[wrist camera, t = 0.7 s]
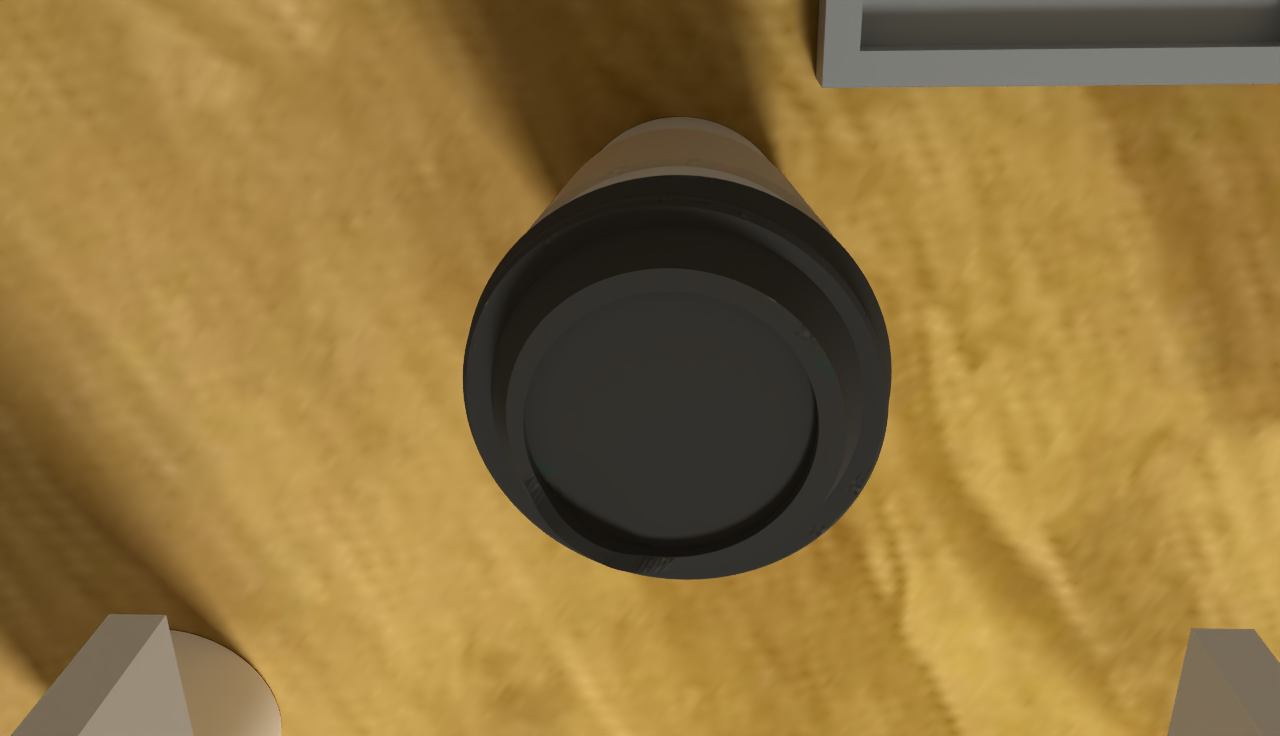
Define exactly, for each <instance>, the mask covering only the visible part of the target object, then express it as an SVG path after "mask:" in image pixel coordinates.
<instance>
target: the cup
mask: <svg viewBox="0 0 1280 736" xmlns="http://www.w3.org/2000/svg"><path fill="white" fill-rule="evenodd" d="M170 634H171V638H172V643H173V647H174V652H175V656H176V660H177V665H178V669H179V673H180V678H181V682H182V687H183V691H184V695H185V700H186V704H187V708H188V713H189V717H190V722H191V726H192V730H193V735H194V736H281V732H282V725H281V716H280V711H279V708H278V705H277V702H276V700H275V698H274V696H273V694H272V692H271V690H270V688H269V687H268V685H267V684H266V682H265V681H264V680H263V678H262V677H261V676H260V675H259V674H258V673H257V672H256V671H255V670H254V669H253V668H252V667H251V666H250V665H249V664H248V663H247V662H246V661H245V660H243V659H242V658H241V657H239V656H238V655H237V654H235V653H234V652H232V651H230V650H229V649H227V648H226V647H224V646H222V645H220V644H218V643H216V642H213V641H211V640H209V639H206V638H203V637H200V636H197V635H194V634H190V633H186V632H180V631H174V630H170Z"/></svg>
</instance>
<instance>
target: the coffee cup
mask: <svg viewBox="0 0 1280 736" xmlns="http://www.w3.org/2000/svg"><path fill="white" fill-rule="evenodd" d="M890 389H891V353H890V345H889V339H888V334H887V329H886V325H885V322H884V318H883V315H882V312H881V309H880V307H879V304H878V302H877V299H876V297H875V295H874V293H873V291H872V289H871V287H870V285H869V283H868V281H867V279H866V278H865V276H864V274H863V273H862V271H861V270H860V268H859V267H858V265H857V264H856V262H855V261H854V260H853V258H852V257H851V256H850V255H849V253H848V252H847V251H846V250H845V249H844V248H843V246H842V245H841V244H840V243H839V242H838V241H837V240H836V239H835V238H834V237H833V235H832V234H831V233H830V231H829V230H828V229H827V227H826V226H825V225H824V224H823V222H822V221H821V220H820V219H819V217H818V216H817V215H816V214H815V213H814V211H813V210H812V209H811V208H810V206H809V205H808V204H807V203H806V202H805V200H804V199H803V198H802V197H801V195H800V194H799V193H798V192H797V191H796V189H795V188H794V187H793V186H792V184H791V183H790V182H789V181H788V179H787V178H786V177H785V176H784V175H783V174H782V173H781V172H780V171H779V170H778V169H777V168H776V167H775V166H774V165H773V164H772V163H771V162H769V160H768V159H767V158H766V157H765V156H764V154H763V153H762V152H761V151H760V150H759V149H758V148H757V147H756V146H755V145H753V144H752V143H751V142H750V141H749V140H747V139H746V138H745V137H743V136H742V135H740V134H739V133H737V132H735V131H733V130H731V129H730V128H727V127H725V126H723V125H720V124H718V123H715V122H712V121H708V120H704V119H698V118H691V117H669V118H661V119H656V120H652V121H648V122H645V123H642V124H640V125H637V126H635V127H633V128H631V129H629V130H627V131H625V132H623V133H622V134H620V135H619V136H617V137H616V138H615V139H613V140H612V141H611V142H610V143H608V144H607V145H606V146H605V147H604V148H603V149H602V150H601V151H600V152H599V153H597V154H596V155H595V156H593V157H592V158H591V159H590V160H588V161H587V162H586V163H585V164H584V165H583V166H582V167H581V168H580V169H579V170H578V171H577V172H576V173H575V174H574V175H573V177H572V178H571V179H570V180H569V181H568V183H567V184H566V185H565V186H564V187H563V189H562V190H561V191H560V192H559V193H558V195H557V196H556V197H555V198H554V200H553V201H552V202H551V203H550V204H549V206H548V207H547V208H546V209H545V210H544V212H543V213H542V214H541V215H540V216H539V218H538V219H537V220H536V221H535V223H534V224H533V225H532V226H531V228H530V229H529V230H528V231H527V233H526V234H525V235H523V236H522V237H521V238H520V239H519V240H518V241H517V243H516V244H515V245H514V246H513V247H512V248H511V249H510V250H509V252H508V253H507V254H506V255H505V257H504V258H503V259H502V261H501V262H500V263H499V265H498V266H497V268H496V269H495V271H494V272H493V274H492V276H491V277H490V279H489V281H488V283H487V285H486V286H485V288H484V291H483V293H482V295H481V297H480V299H479V302H478V305H477V307H476V310H475V313H474V316H473V320H472V323H471V327H470V331H469V336H468V339H467V344H466V349H465V355H464V364H463V393H464V402H465V408H466V414H467V418H468V422H469V426H470V429H471V433H472V436H473V438H474V441H475V444H476V446H477V449H478V451H479V453H480V455H481V457H482V459H483V461H484V463H485V465H486V467H487V469H488V470H489V472H490V474H491V475H492V477H493V478H494V480H495V481H496V483H497V484H498V486H499V487H500V488H501V490H502V491H503V492H504V494H505V495H506V496H507V497H508V498H509V500H510V501H511V502H512V503H513V504H514V505H515V506H516V507H517V508H518V509H519V511H520V512H521V513H523V514H524V515H525V516H526V517H527V518H528V519H529V520H530V521H531V522H532V523H533V524H535V525H536V526H537V527H538V528H540V529H541V530H542V531H543V532H545V533H546V534H547V535H549V536H550V537H552V538H553V539H555V540H556V541H558V542H559V543H561V544H562V545H564V546H566V547H568V548H569V549H571V550H573V551H575V552H577V553H579V554H581V555H583V556H585V557H587V558H589V559H591V560H594V561H596V562H599V563H601V564H603V565H606V566H608V567H610V568H614V569H617V570H621V571H626V572H630V573H634V574H639V575H644V576H649V577H656V578H665V579H685V580H691V579H709V578H718V577H725V576H731V575H736V574H740V573H744V572H748V571H752V570H755V569H758V568H761V567H764V566H767V565H769V564H772V563H774V562H777V561H779V560H781V559H783V558H785V557H787V556H789V555H791V554H793V553H795V552H797V551H798V550H800V549H802V548H803V547H805V546H807V545H808V544H810V543H811V542H813V541H814V540H815V539H817V538H818V537H819V536H821V535H822V534H823V533H824V532H826V531H827V530H828V529H829V528H830V527H831V526H832V525H834V524H835V523H836V522H837V521H838V520H839V519H840V518H841V517H842V515H843V514H844V513H845V512H846V511H847V510H848V509H849V507H850V506H851V505H852V504H853V502H854V501H855V500H856V498H857V497H858V496H859V494H860V493H861V491H862V489H863V488H864V486H865V485H866V483H867V481H868V479H869V477H870V475H871V473H872V471H873V469H874V467H875V465H876V462H877V460H878V457H879V454H880V451H881V448H882V445H883V441H884V437H885V432H886V426H887V419H888V405H889V397H890Z"/></svg>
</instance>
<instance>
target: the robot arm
mask: <svg viewBox="0 0 1280 736" xmlns="http://www.w3.org/2000/svg"><path fill="white" fill-rule="evenodd" d="M11 736H194V735H193V730H192V726H191V722H190V717H189V713H188V708H187V704H186V700H185V695H184V691H183V687H182V682H181V678H180V673H179V669H178V665H177V660H176V656H175V652H174V647H173V643H172V638H171V634H170V630H169V625H168V621H167V617H166V615H148V614H109V615H108V616H107V617H106V618H105V620H104V621H103V622H102V623H101V625H100V626H99V627H98V628H97V629H96V631H95V632H94V633H93V634H92V636H91V637H90V638H89V639H88V641H87V642H86V643H85V644H84V646H83V647H82V648H81V649H80V651H79V652H78V653H77V654H76V656H75V657H74V658H73V659H72V660H71V662H70V663H69V664H68V665H67V667H66V668H65V669H64V670H63V672H62V673H61V674H60V675H59V677H58V678H57V679H56V680H55V682H54V683H53V684H52V685H51V687H50V688H49V689H48V690H47V691H46V693H45V694H44V695H43V696H42V698H41V699H40V700H39V701H38V703H37V704H36V705H35V706H34V708H33V709H32V710H31V711H30V713H29V714H28V715H27V716H26V718H25V719H24V720H23V721H22V723H21V724H20V725H19V726H18V727H17V729H16V730H15V731H14V732H13V734H12V735H11ZM1167 736H1280V663H1279V662H1278V660H1277V659H1276V658H1275V656H1274V655H1273V654H1272V652H1271V651H1270V650H1269V648H1268V647H1267V646H1266V645H1265V643H1264V642H1263V641H1262V639H1261V638H1260V637H1259V635H1258V634H1257V633H1256V631H1255V630H1254V629H1198V628H1191V632H1190V636H1189V641H1188V645H1187V650H1186V654H1185V659H1184V663H1183V668H1182V672H1181V677H1180V681H1179V686H1178V690H1177V695H1176V699H1175V704H1174V708H1173V713H1172V717H1171V721H1170V726H1169V730H1168V735H1167Z"/></svg>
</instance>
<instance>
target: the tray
mask: <svg viewBox="0 0 1280 736" xmlns="http://www.w3.org/2000/svg"><path fill="white" fill-rule="evenodd" d="M816 79H817V81H818V82H819V84H820V85H821V87H822V88H859V87H969V86H1079V85H1189V84H1280V0H819V19H818V41H817V63H816Z"/></svg>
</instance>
